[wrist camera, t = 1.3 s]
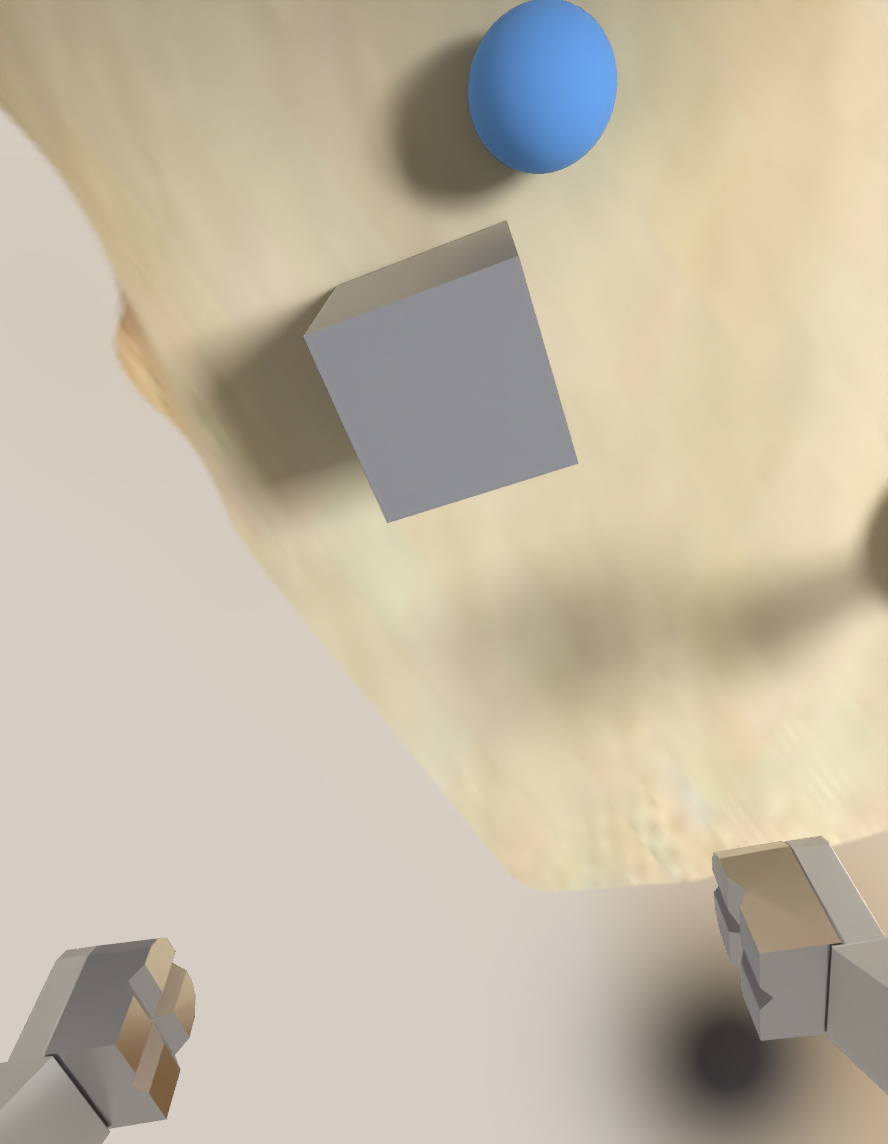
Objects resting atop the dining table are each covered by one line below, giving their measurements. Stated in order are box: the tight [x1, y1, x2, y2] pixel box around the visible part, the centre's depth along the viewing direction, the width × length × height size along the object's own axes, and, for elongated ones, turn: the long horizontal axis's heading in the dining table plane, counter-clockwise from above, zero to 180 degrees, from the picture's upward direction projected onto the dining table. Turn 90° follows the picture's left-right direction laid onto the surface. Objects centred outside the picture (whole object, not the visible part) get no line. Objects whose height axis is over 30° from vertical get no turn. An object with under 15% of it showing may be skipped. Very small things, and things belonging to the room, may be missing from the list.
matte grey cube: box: [303, 221, 578, 523], centre depth 29 cm, size 7×7×8 cm
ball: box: [468, 0, 617, 174], centre depth 26 cm, size 5×5×5 cm
